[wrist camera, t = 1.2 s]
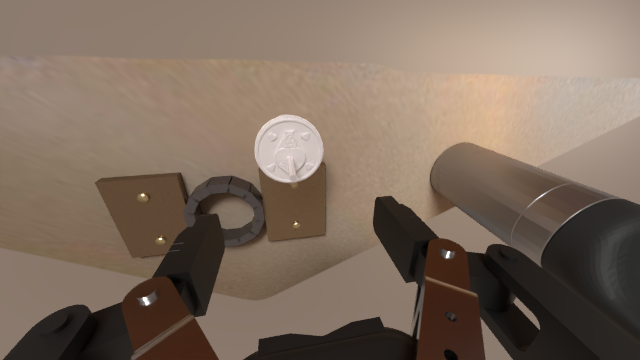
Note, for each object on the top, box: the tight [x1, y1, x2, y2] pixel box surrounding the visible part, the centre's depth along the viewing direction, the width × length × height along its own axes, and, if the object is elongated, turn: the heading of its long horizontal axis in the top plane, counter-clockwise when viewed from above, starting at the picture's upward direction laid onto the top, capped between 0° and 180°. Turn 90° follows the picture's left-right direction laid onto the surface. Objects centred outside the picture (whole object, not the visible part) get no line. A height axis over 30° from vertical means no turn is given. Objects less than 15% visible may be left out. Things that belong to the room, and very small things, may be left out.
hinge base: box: [95, 162, 326, 258], centre depth 31 cm, size 28×12×2 cm, turn 91°
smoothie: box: [255, 114, 323, 183], centre depth 23 cm, size 6×6×14 cm
